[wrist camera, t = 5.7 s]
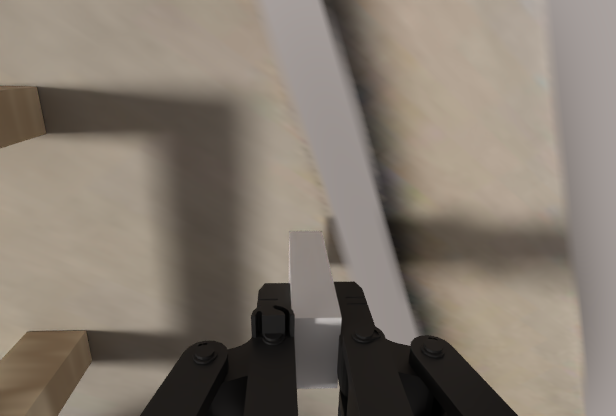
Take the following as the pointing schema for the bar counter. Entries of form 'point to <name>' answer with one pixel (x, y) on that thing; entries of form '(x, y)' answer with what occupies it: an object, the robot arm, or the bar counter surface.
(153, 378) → the bar counter surface
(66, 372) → the bridge
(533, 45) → the bar counter surface
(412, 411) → the robot arm
